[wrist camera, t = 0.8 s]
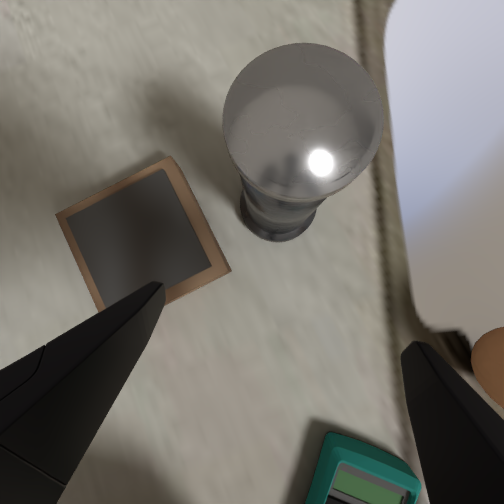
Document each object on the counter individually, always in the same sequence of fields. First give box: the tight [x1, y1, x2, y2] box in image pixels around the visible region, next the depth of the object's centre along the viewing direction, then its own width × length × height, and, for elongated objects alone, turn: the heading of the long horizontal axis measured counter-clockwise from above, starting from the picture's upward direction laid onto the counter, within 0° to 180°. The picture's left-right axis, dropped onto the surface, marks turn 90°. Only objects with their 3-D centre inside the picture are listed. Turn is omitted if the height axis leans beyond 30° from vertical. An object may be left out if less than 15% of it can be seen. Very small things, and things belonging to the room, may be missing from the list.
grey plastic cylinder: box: [223, 43, 384, 242], centre depth 16 cm, size 7×7×13 cm
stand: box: [55, 156, 232, 312], centre depth 21 cm, size 11×11×3 cm
